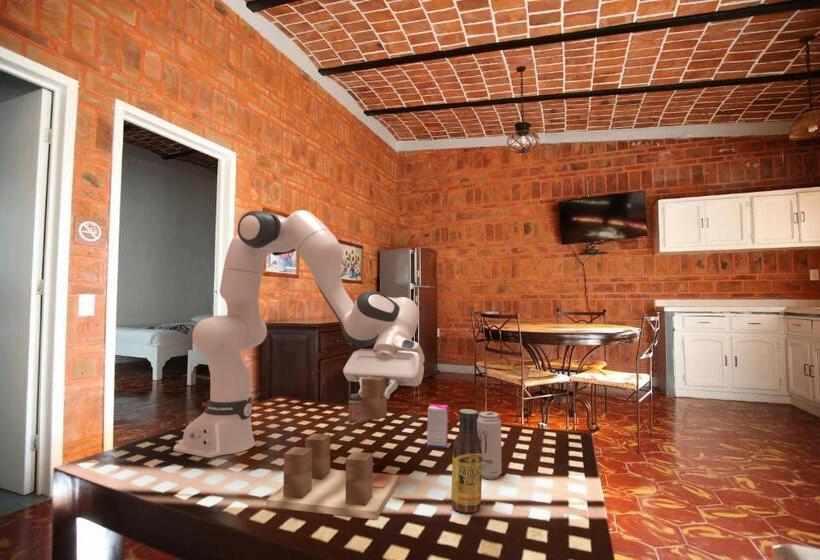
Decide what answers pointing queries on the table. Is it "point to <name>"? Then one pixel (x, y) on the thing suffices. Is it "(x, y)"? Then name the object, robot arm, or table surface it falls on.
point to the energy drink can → (490, 443)
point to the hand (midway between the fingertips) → (373, 396)
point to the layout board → (331, 482)
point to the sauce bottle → (467, 464)
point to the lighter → (355, 409)
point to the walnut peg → (373, 398)
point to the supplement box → (437, 426)
